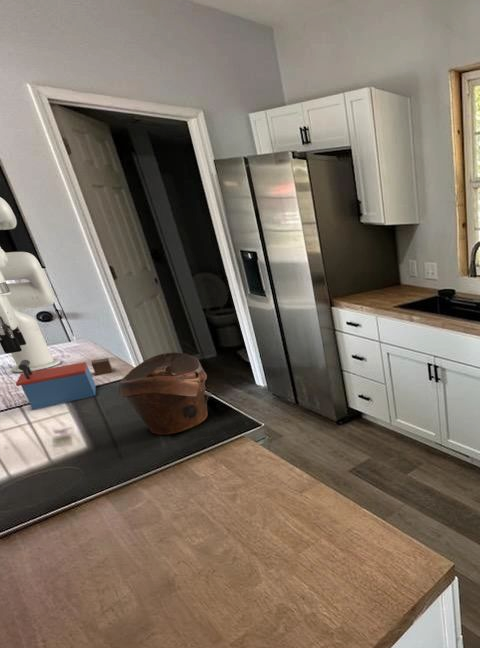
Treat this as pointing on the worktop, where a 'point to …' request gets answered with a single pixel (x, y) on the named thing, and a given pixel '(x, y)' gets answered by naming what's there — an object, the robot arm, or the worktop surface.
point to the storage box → (60, 390)
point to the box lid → (48, 372)
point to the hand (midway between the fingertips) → (16, 348)
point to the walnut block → (102, 366)
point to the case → (167, 392)
